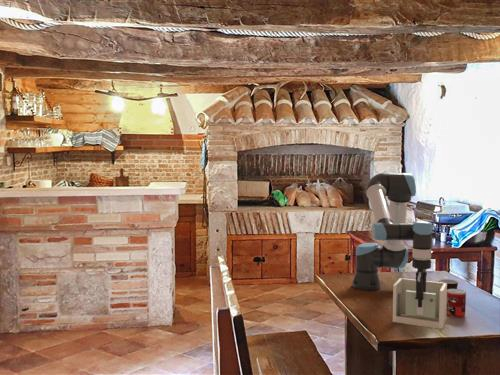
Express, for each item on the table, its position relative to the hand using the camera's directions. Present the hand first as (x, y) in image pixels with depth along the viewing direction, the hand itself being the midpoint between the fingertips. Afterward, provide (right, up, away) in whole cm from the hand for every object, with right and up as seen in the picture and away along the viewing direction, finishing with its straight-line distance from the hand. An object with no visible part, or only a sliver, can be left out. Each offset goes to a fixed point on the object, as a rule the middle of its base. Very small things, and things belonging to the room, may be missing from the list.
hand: (420, 313), depth 221 cm
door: (0, -1, 0) cm, 1 cm away
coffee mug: (+24, -2, +34) cm, 42 cm away
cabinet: (+1, -4, +5) cm, 7 cm away
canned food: (+20, -4, +12) cm, 23 cm away
